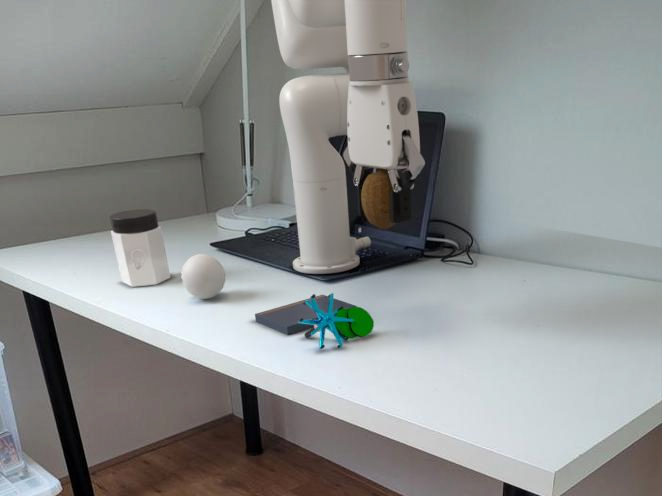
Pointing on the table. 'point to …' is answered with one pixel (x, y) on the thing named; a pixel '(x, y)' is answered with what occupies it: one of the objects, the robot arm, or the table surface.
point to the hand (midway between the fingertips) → (384, 216)
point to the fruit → (377, 199)
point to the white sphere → (203, 276)
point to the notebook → (296, 314)
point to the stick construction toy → (339, 322)
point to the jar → (139, 247)
